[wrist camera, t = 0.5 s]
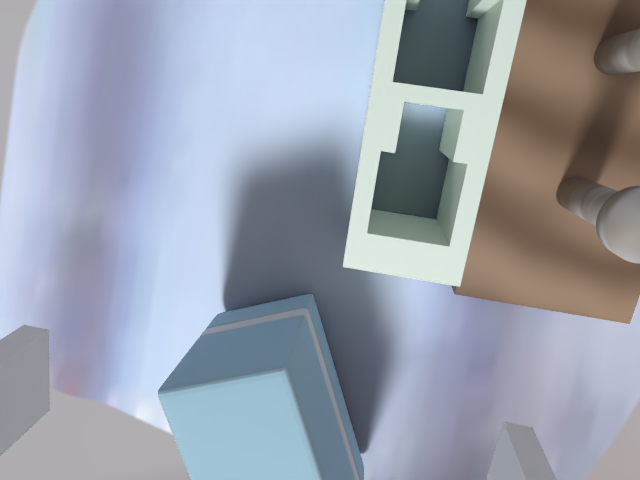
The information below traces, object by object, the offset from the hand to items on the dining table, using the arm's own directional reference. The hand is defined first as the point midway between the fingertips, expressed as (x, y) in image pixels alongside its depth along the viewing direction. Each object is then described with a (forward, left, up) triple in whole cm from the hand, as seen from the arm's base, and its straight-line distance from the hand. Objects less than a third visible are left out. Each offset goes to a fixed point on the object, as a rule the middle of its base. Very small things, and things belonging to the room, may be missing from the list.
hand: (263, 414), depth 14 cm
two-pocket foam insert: (-10, +5, -23) cm, 25 cm away
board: (-9, +15, -23) cm, 29 cm away
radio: (+14, -2, -23) cm, 27 cm away
